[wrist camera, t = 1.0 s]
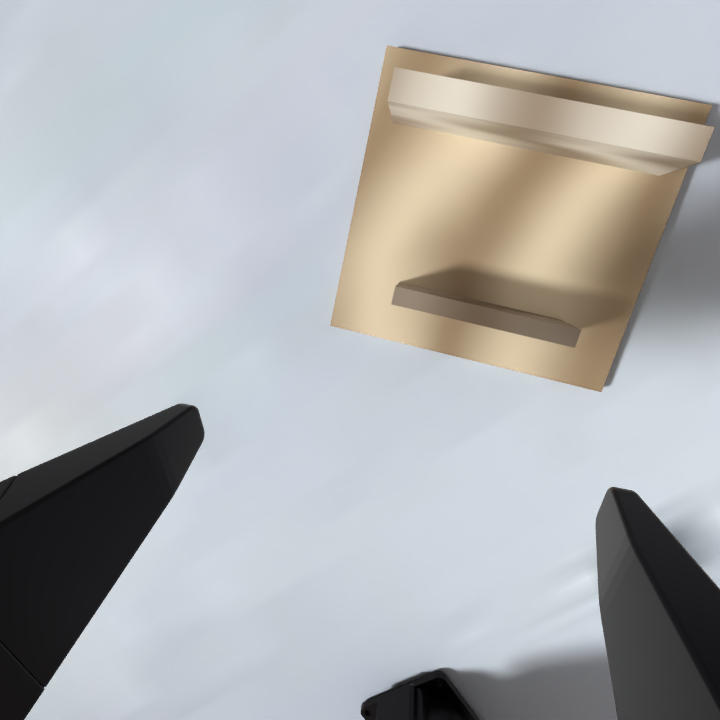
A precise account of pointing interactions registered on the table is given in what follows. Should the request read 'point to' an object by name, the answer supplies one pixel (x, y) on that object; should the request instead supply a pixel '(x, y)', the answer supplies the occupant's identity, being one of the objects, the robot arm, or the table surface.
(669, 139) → the shelf slot
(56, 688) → the table surface
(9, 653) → the robot arm
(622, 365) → the table surface
